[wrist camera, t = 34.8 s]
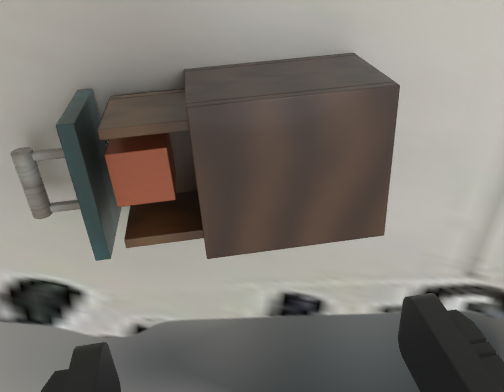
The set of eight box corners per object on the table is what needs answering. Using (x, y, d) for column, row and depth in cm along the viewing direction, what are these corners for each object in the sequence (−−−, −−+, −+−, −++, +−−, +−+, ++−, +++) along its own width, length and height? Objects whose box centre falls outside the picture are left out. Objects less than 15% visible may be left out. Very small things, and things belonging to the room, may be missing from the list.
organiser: (201, 198, 45) (206, 259, 36) (184, 69, 38) (185, 107, 30) (347, 180, 46) (384, 235, 38) (354, 52, 39) (400, 85, 31)
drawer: (56, 215, 42) (33, 269, 36) (16, 95, 37) (-20, 133, 30) (251, 191, 44) (264, 238, 37) (243, 73, 38) (257, 104, 31)
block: (123, 180, 40) (117, 207, 36) (112, 131, 38) (104, 154, 34) (176, 173, 41) (175, 199, 37) (167, 125, 38) (166, 147, 34)
